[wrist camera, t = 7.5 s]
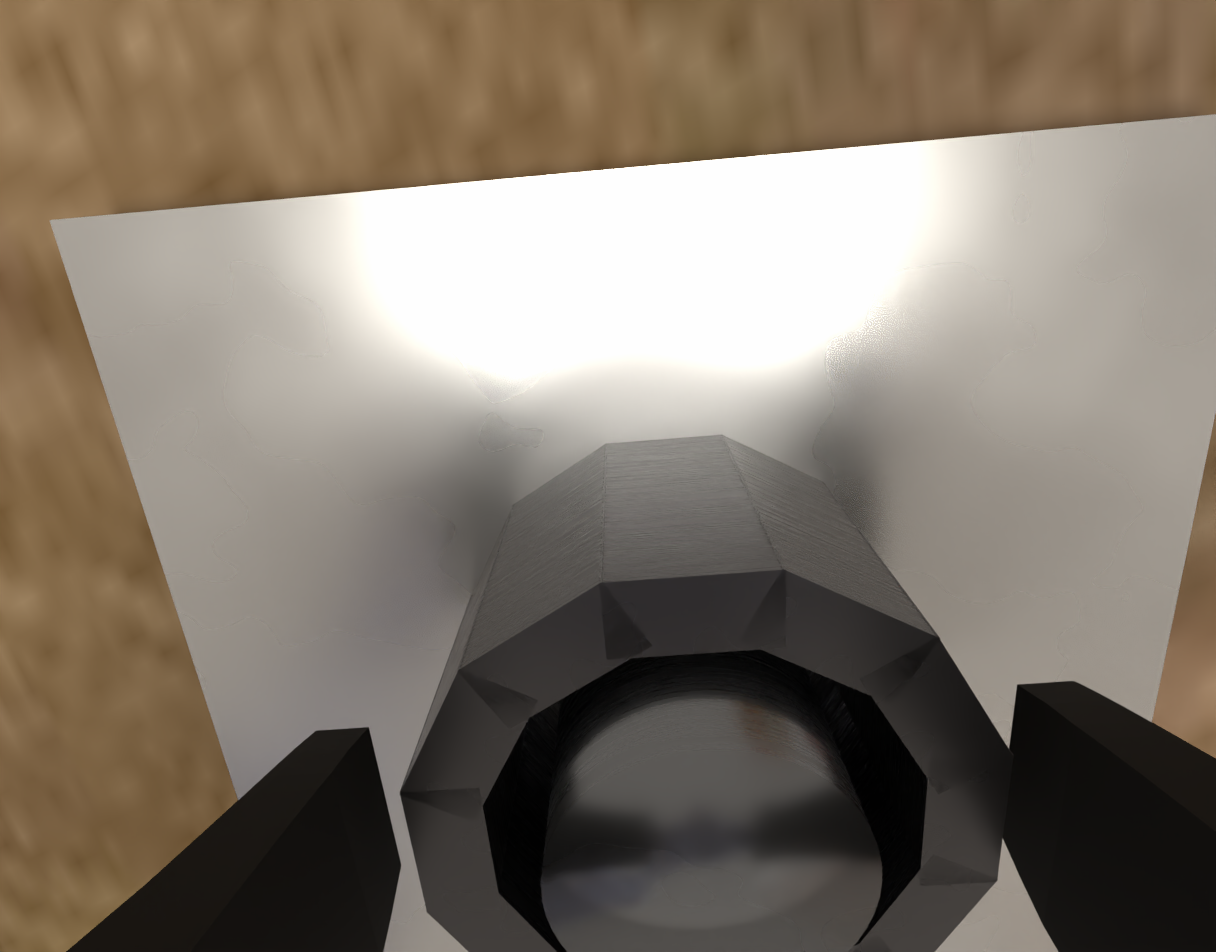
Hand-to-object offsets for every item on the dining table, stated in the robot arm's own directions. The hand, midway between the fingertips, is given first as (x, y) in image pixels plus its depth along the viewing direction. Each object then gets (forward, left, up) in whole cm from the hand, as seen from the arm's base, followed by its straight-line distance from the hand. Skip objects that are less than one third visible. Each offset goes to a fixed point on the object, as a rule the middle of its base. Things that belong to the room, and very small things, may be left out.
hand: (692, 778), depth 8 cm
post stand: (0, -4, -4) cm, 6 cm away
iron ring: (0, 0, -3) cm, 3 cm away
